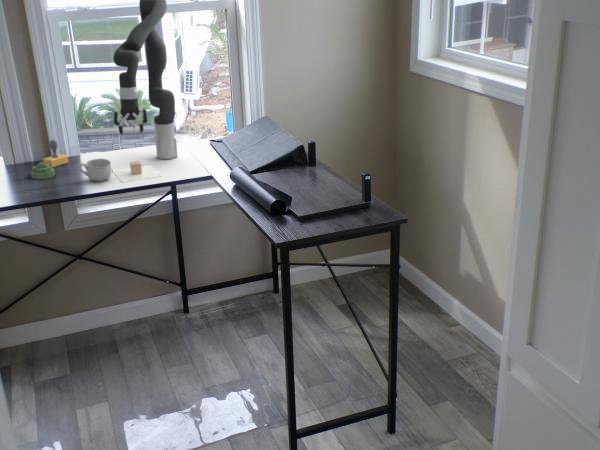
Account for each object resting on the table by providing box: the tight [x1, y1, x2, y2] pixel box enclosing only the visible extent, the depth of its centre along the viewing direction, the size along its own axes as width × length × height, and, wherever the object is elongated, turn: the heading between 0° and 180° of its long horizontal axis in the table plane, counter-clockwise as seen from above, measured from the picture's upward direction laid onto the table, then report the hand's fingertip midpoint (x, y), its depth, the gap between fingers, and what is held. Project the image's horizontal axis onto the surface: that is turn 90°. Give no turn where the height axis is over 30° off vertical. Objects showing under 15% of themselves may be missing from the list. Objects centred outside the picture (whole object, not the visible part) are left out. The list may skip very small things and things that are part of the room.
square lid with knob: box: [111, 160, 162, 183], centre depth 305 cm, size 18×18×6 cm
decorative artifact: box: [30, 160, 56, 180], centre depth 301 cm, size 10×7×10 cm
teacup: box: [77, 158, 112, 183], centre depth 296 cm, size 14×11×8 cm
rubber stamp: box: [42, 139, 69, 168], centre depth 315 cm, size 10×6×12 cm, turn 150°
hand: (131, 133), depth 299 cm, fingers open, 8 cm apart
